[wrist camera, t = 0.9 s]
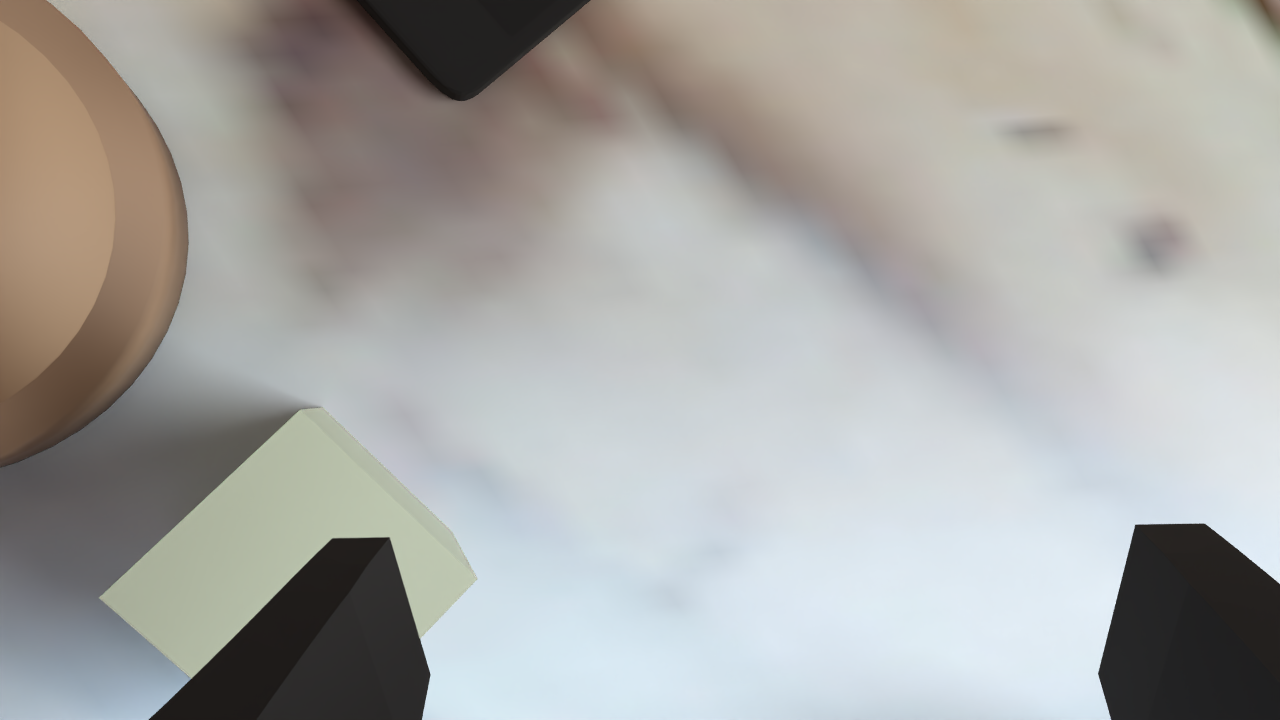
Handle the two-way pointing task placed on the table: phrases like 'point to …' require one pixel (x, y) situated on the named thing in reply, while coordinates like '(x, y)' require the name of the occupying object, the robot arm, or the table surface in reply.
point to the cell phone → (468, 36)
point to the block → (282, 541)
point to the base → (77, 231)
